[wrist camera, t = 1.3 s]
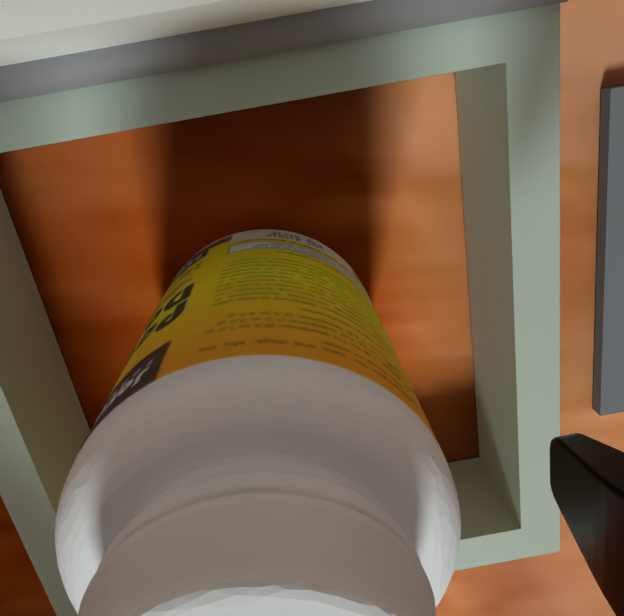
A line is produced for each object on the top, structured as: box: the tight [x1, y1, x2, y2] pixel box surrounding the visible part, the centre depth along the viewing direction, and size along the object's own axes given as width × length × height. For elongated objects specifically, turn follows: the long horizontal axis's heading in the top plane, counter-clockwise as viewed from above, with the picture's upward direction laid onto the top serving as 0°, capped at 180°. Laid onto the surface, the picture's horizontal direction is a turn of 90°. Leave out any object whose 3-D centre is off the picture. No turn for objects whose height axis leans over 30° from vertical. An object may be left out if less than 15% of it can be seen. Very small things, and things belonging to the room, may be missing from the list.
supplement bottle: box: [55, 229, 461, 616], centre depth 10 cm, size 6×6×10 cm
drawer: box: [0, 0, 568, 616], centre depth 12 cm, size 14×13×6 cm
